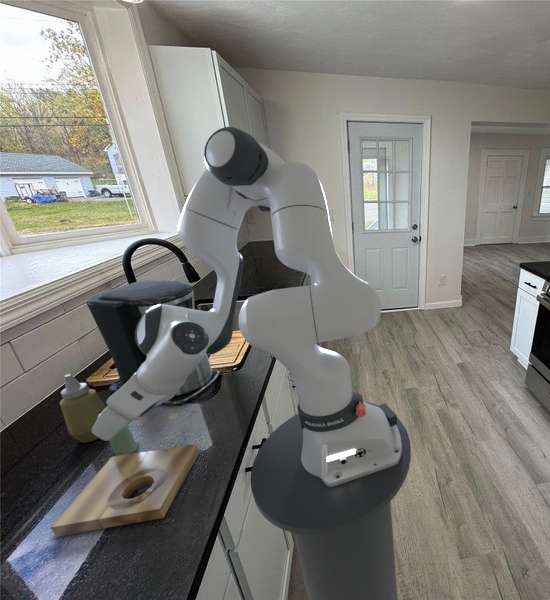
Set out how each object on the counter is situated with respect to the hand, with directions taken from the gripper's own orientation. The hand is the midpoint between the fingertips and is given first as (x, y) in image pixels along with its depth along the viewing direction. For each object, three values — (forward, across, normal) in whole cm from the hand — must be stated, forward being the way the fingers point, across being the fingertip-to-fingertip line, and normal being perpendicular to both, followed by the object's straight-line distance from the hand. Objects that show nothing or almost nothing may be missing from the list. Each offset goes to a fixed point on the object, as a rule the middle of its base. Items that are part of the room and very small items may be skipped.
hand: (131, 416), depth 72 cm
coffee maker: (+18, -28, -3) cm, 33 cm away
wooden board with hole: (+2, +10, +12) cm, 16 cm away
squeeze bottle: (+20, -4, -5) cm, 21 cm away
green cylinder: (+10, +1, +4) cm, 11 cm away
